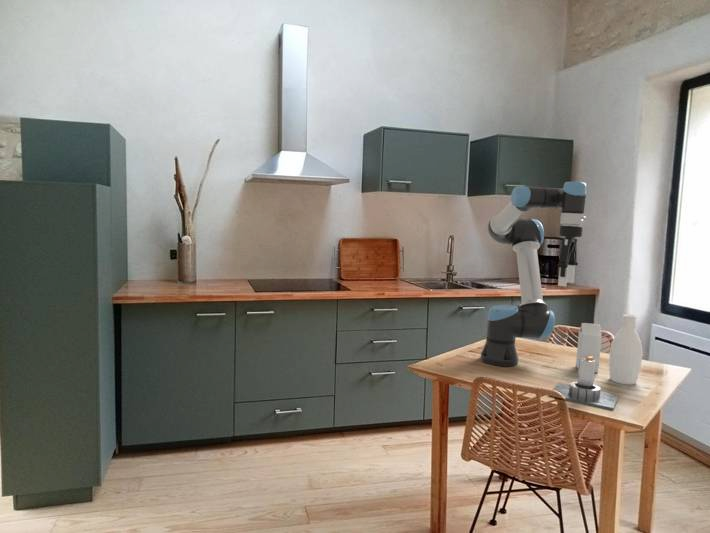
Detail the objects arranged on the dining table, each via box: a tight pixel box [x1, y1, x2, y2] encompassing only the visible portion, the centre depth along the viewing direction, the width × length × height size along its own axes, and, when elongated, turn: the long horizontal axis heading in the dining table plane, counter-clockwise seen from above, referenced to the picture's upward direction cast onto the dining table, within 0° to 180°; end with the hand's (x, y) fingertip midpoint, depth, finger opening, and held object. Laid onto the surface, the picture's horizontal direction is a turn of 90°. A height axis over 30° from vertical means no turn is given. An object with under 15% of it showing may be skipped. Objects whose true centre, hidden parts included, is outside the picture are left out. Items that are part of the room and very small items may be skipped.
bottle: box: [608, 313, 643, 386], centre depth 202 cm, size 11×11×25 cm
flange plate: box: [552, 380, 620, 411], centre depth 183 cm, size 20×16×4 cm
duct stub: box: [576, 356, 596, 389], centre depth 182 cm, size 5×5×13 cm
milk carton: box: [575, 322, 603, 374], centre depth 216 cm, size 7×7×19 cm
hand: (565, 284), depth 193 cm, fingers open, 13 cm apart
